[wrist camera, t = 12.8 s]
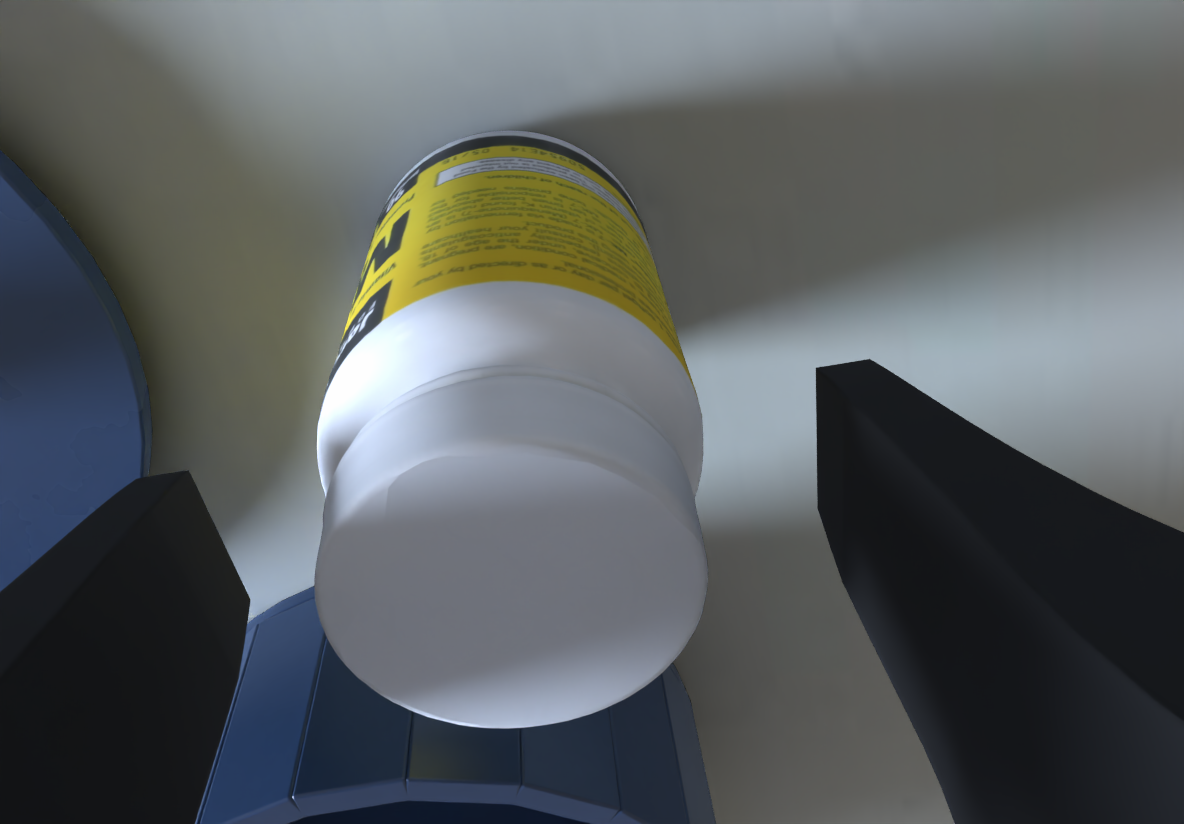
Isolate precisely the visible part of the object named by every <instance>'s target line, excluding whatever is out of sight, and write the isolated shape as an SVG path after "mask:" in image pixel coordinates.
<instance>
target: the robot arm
mask: <svg viewBox="0 0 1184 824" xmlns="http://www.w3.org/2000/svg"><path fill="white" fill-rule="evenodd" d="M816 414H817V494H818V511H819V514H820V517H821V520H822V523H823V526H824V529H825V532H826V535H827V538H828V541H829V545H830V548H831V551H832V553H833V556H834V559H835V562H836V565H837V568H838V571H839V573H840V576H841V579H842V582H843V584H844V586H845V588H846V590H847V592H848V595H849V597H850V599H851V601H852V603H853V605H854V607H855V609H856V611H857V613H858V615H859V617H860V619H861V621H862V623H863V625H864V628H865V630H866V632H867V634H868V636H869V638H870V640H871V642H872V644H873V646H874V648H875V650H876V652H877V654H878V656H879V658H880V660H881V662H882V664H883V666H884V668H885V670H886V672H887V674H888V676H889V678H890V680H891V682H892V684H893V686H894V688H895V690H896V692H897V694H898V696H899V698H900V700H901V702H902V704H903V706H904V708H905V710H906V712H907V714H908V717H909V719H910V721H911V723H912V725H913V727H914V729H915V731H916V733H917V735H918V737H919V739H920V741H921V743H922V745H923V747H924V749H925V751H926V754H927V756H928V758H929V760H930V763H931V765H932V767H933V769H934V772H935V774H936V776H937V778H938V781H939V783H940V785H941V788H942V790H943V793H944V796H945V798H946V801H947V804H948V806H949V809H950V812H951V815H952V817H953V820H954V823H955V824H1184V532H1181V531H1179V530H1177V529H1174V528H1172V527H1170V526H1168V525H1165V524H1163V523H1161V522H1158V521H1156V520H1154V519H1152V518H1149V517H1147V516H1145V515H1142V514H1140V513H1138V512H1136V511H1133V510H1131V509H1129V508H1127V507H1125V506H1122V505H1120V504H1118V503H1116V502H1114V501H1112V500H1110V499H1108V498H1106V497H1104V496H1102V495H1100V494H1098V493H1096V492H1094V491H1092V490H1090V489H1088V488H1086V487H1084V486H1082V485H1080V484H1078V483H1076V482H1075V481H1073V480H1071V479H1069V478H1067V477H1065V476H1063V475H1061V474H1059V473H1057V472H1056V471H1054V470H1052V469H1050V468H1048V467H1046V466H1044V465H1042V464H1040V463H1039V462H1037V461H1035V460H1033V459H1032V458H1030V457H1028V456H1026V455H1024V454H1023V453H1021V452H1019V451H1017V450H1016V449H1014V448H1012V447H1010V446H1009V445H1007V444H1005V443H1004V442H1002V441H1000V440H999V439H997V438H995V437H993V436H992V435H990V434H988V433H987V432H985V431H984V430H982V429H980V428H979V427H977V426H975V425H974V424H972V423H970V422H969V421H967V420H966V419H964V418H962V417H961V416H959V415H958V414H956V413H954V412H953V411H951V410H950V409H948V408H946V407H945V406H943V405H942V404H940V403H939V402H937V401H936V400H934V399H932V398H931V397H929V396H928V395H926V394H925V393H923V392H921V391H920V390H918V389H917V388H915V387H914V386H912V385H911V384H909V383H908V382H906V381H904V380H903V379H901V378H900V377H898V376H897V375H895V374H893V373H892V372H890V371H889V370H887V369H885V368H884V367H882V366H881V365H879V364H877V363H875V362H874V361H872V360H870V359H868V360H862V361H855V362H849V363H843V364H837V365H831V366H825V367H819V368H816ZM249 606H250V598H249V596H248V594H247V592H246V590H245V587H244V585H243V583H242V581H241V579H240V577H239V575H238V573H237V571H236V568H235V566H234V564H233V562H232V560H231V558H230V556H229V554H228V552H227V550H226V547H225V545H224V543H223V541H222V539H221V537H220V535H219V533H218V531H217V529H216V526H215V524H214V522H213V520H212V518H211V516H210V514H209V512H208V510H207V508H206V505H205V503H204V501H203V499H202V497H201V495H200V493H199V491H198V489H197V487H196V484H195V482H194V480H193V478H192V476H191V474H190V472H189V470H187V471H181V472H175V473H168V474H162V475H156V476H150V477H144V478H138V479H135V480H134V481H133V482H131V483H130V484H128V485H127V486H125V487H124V488H123V489H121V490H120V491H119V492H117V493H116V494H115V495H113V496H112V497H111V498H110V499H108V500H107V501H106V502H105V503H103V504H102V505H101V506H100V507H99V508H97V509H96V510H95V511H94V512H93V513H91V514H90V515H89V516H88V517H87V518H85V519H84V520H83V521H82V522H81V523H80V524H78V525H77V526H76V527H75V528H74V529H73V530H71V531H70V532H69V533H68V534H67V535H66V536H64V537H63V538H62V539H61V540H60V541H59V542H58V543H56V544H55V545H54V546H53V547H52V548H51V549H49V550H48V551H47V552H46V553H45V554H44V555H43V556H41V557H40V558H39V559H38V560H37V561H36V562H34V563H33V564H32V565H31V566H30V567H29V568H27V569H26V570H25V571H24V572H23V573H22V574H20V575H19V576H18V577H17V578H16V579H15V580H14V581H12V582H11V583H10V584H9V585H8V586H7V587H5V588H4V589H3V590H2V591H1V592H0V824H195V821H196V818H197V815H198V812H199V808H200V805H201V802H202V799H203V795H204V792H205V789H206V786H207V783H208V779H209V776H210V773H211V770H212V766H213V763H214V760H215V757H216V753H217V750H218V747H219V744H220V740H221V737H222V734H223V730H224V727H225V724H226V720H227V717H228V714H229V710H230V707H231V703H232V700H233V697H234V693H235V690H236V686H237V682H238V679H239V673H240V667H241V661H242V656H243V650H244V644H245V637H246V629H247V621H248V614H249Z"/></svg>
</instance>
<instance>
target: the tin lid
mask: <svg viewBox="0 0 1184 824" xmlns="http://www.w3.org/2000/svg"><path fill="white" fill-rule="evenodd" d="M152 431H153V430H152V420H151V410H150V400H149V390H148V386H147V383H146V379H145V375H144V371H143V367H142V363H141V360H140V356H139V352H138V348H137V345H136V343H135V340H134V338H133V336H132V333H131V331H130V328H129V326H128V324H127V321H126V319H125V316H124V314H123V312H122V309H121V307H120V304H119V302H118V300H117V299H116V297H115V295H114V293H113V292H112V290H111V288H110V286H109V285H108V283H107V281H106V279H105V278H104V276H103V274H102V273H101V271H100V269H99V267H98V266H97V264H96V262H95V260H94V259H93V257H92V255H91V254H90V253H89V251H88V250H87V249H86V247H85V246H84V245H83V243H82V242H81V241H80V239H79V238H78V236H77V235H76V234H75V232H74V231H73V230H72V228H71V227H70V226H69V224H68V223H67V222H66V220H65V219H64V218H63V216H62V215H61V213H60V212H59V211H58V210H57V208H56V207H55V206H54V205H53V204H52V203H51V202H50V201H49V200H48V199H47V198H46V196H45V195H44V194H43V193H42V192H41V191H40V190H39V189H38V188H37V187H36V186H35V184H34V183H33V182H32V181H31V180H30V179H29V178H28V177H27V176H26V175H25V174H24V172H23V171H22V170H21V169H20V168H19V167H18V166H17V165H16V164H15V163H14V162H13V161H12V160H11V159H10V158H9V157H7V156H6V155H5V154H4V153H3V152H2V151H1V150H0V592H1V591H2V590H3V589H4V588H5V587H7V586H8V585H9V584H10V583H11V582H12V581H14V580H15V579H16V578H17V577H18V576H19V575H20V574H22V573H23V572H24V571H25V570H26V569H27V568H29V567H30V566H31V565H32V564H33V563H34V562H36V561H37V560H38V559H39V558H40V557H41V556H43V555H44V554H45V553H46V552H47V551H48V550H49V549H51V548H52V547H53V546H54V545H55V544H56V543H58V542H59V541H60V540H61V539H62V538H63V537H64V536H66V535H67V534H68V533H69V532H70V531H71V530H73V529H74V528H75V527H76V526H77V525H78V524H80V523H81V522H82V521H83V520H84V519H85V518H87V517H88V516H89V515H90V514H91V513H93V512H94V511H95V510H96V509H97V508H99V507H100V506H101V505H102V504H103V503H105V502H106V501H107V500H108V499H110V498H111V497H112V496H113V495H115V494H116V493H117V492H119V491H120V490H121V489H123V488H124V487H125V486H127V485H128V484H130V483H131V482H133V481H134V480H135V479H138V478H144V477H148V473H149V469H150V460H151V446H152Z"/></svg>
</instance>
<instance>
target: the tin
mask: <svg viewBox="0 0 1184 824" xmlns="http://www.w3.org/2000/svg"><path fill="white" fill-rule="evenodd" d="M195 824H716V820H715V816H714V811H713V806H712V801H711V797H710V792H709V787H708V782H707V778H706V773H705V768H704V763H703V758H702V754H701V749H700V744H699V739H698V735H697V730H696V725H695V720H694V716H693V711H692V706H691V701H690V699H689V696H688V694H687V693H686V689H685V687H684V685H683V682H682V680H681V678H680V676H679V673H678V671H677V669H676V667H675V666H674V664H673V663H671V664H670V665H669V666H668V667H667V669H666V670H665V671H663V672H662V673H661V674H660V675H659V676H658V677H657V678H655V679H654V680H653V681H652V682H650V683H649V684H648V685H646V686H645V687H643V688H642V689H640V690H639V691H637V692H636V693H634V694H633V695H631V696H629V697H628V698H626V699H624V700H622V701H620V702H618V703H616V704H613V705H611V706H609V707H607V708H605V709H602V710H600V711H597V712H595V713H592V714H589V715H586V716H582V717H579V718H576V719H572V720H569V721H564V722H559V723H554V724H547V725H541V726H533V727H524V728H482V727H472V726H464V725H458V724H454V723H449V722H445V721H442V720H438V719H434V718H430V717H426V716H424V715H421V714H419V713H416V712H413V711H411V710H409V709H407V708H404V707H402V706H400V705H398V704H396V703H393V702H392V701H390V700H388V699H387V698H385V697H383V696H382V695H380V694H379V693H377V692H376V691H374V690H373V689H372V688H370V687H369V686H368V685H367V684H366V683H364V682H363V681H361V680H360V679H359V678H357V677H356V675H355V674H354V673H353V672H352V671H351V670H350V669H349V668H348V667H347V666H346V665H345V664H344V663H343V661H342V660H341V659H340V658H339V657H338V655H337V654H336V652H335V651H334V649H333V647H332V646H331V644H330V642H329V641H328V639H327V636H326V634H325V632H324V629H323V627H322V625H321V622H320V619H319V615H318V611H317V606H316V602H315V586H313V587H311V588H309V589H307V590H304V591H302V592H300V593H298V594H296V595H293V596H291V597H289V598H287V599H285V600H283V601H281V602H279V603H278V604H276V605H275V606H273V607H271V608H270V609H268V610H266V611H265V612H263V613H262V614H260V615H258V616H257V617H255V618H254V619H253V620H252V621H250V622H249V623H248V624H247V629H246V637H245V644H244V650H243V656H242V661H241V667H240V673H239V679H238V682H237V686H236V690H235V693H234V697H233V700H232V703H231V707H230V710H229V714H228V717H227V720H226V724H225V727H224V730H223V734H222V737H221V740H220V744H219V747H218V750H217V753H216V757H215V760H214V763H213V766H212V770H211V773H210V776H209V779H208V783H207V786H206V789H205V792H204V795H203V799H202V802H201V805H200V808H199V812H198V815H197V818H196V821H195Z"/></svg>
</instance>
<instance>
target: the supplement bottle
mask: <svg viewBox="0 0 1184 824" xmlns="http://www.w3.org/2000/svg"><path fill="white" fill-rule="evenodd" d="M317 458H318V467H319V472H320V477H321V483H322V487H323V490H324V493H325V496H326V500H325V506H324V512H323V530H322V536H321V541H320V547H319V552H318V557H317V562H316V570H315V602H316V606H317V611H318V615H319V619H320V622H321V625H322V627H323V629H324V632H325V634H326V636H327V639H328V641H329V642H330V644H331V646H332V647H333V649H334V651H335V652H336V654H337V655H338V657H339V658H340V659H341V660H342V661H343V663H344V664H345V665H346V666H347V667H348V668H349V669H350V670H351V671H352V672H353V673H354V674H355V675H356V677H357V678H359V679H360V680H361V681H363V682H364V683H366V684H367V685H368V686H369V687H370V688H372V689H373V690H374V691H376V692H377V693H379V694H380V695H382V696H383V697H385V698H387V699H388V700H390V701H392V702H393V703H396V704H398V705H400V706H402V707H404V708H407V709H409V710H411V711H413V712H416V713H419V714H421V715H424V716H426V717H430V718H434V719H438V720H442V721H445V722H449V723H454V724H458V725H464V726H472V727H482V728H524V727H533V726H541V725H547V724H554V723H559V722H564V721H569V720H572V719H576V718H579V717H582V716H586V715H589V714H592V713H595V712H597V711H600V710H602V709H605V708H607V707H609V706H611V705H613V704H616V703H618V702H620V701H622V700H624V699H626V698H628V697H629V696H631V695H633V694H634V693H636V692H637V691H639V690H640V689H642V688H643V687H645V686H646V685H648V684H649V683H650V682H652V681H653V680H654V679H655V678H657V677H658V676H659V675H660V674H661V673H662V672H663V671H665V670H666V669H667V667H668V666H669V665H670V664H671V663H672V662H673V661H674V660H675V659H676V657H677V656H678V655H679V654H680V653H681V652H682V650H683V649H684V647H685V646H686V644H687V643H688V641H689V639H690V638H691V636H692V634H693V633H694V631H695V629H696V627H697V625H698V623H699V620H700V618H701V615H702V612H703V607H704V602H705V598H706V593H707V585H708V564H707V557H706V552H705V547H704V542H703V537H702V532H701V528H700V523H699V519H698V515H697V511H696V506H695V496H696V493H697V490H698V486H699V481H700V477H701V471H702V462H703V425H702V414H701V410H700V406H699V402H698V398H697V394H696V391H695V388H694V385H693V382H692V379H691V376H690V373H689V370H688V367H687V364H686V361H685V358H684V355H683V352H682V349H681V346H680V343H679V340H678V337H677V334H676V330H675V327H674V324H673V321H672V318H671V315H670V312H669V309H668V305H667V302H666V299H665V296H664V292H663V289H662V286H661V282H660V279H659V276H658V273H657V270H656V266H655V262H654V259H653V256H652V252H651V249H650V246H649V242H648V239H647V236H646V232H645V229H644V226H643V223H642V221H641V219H640V216H639V214H638V212H637V209H636V207H635V205H634V203H633V201H632V199H631V198H630V196H629V194H628V193H627V191H626V190H625V188H624V187H623V185H622V184H621V183H620V182H619V181H618V179H617V178H616V177H615V176H614V175H613V174H612V173H611V172H610V171H609V170H608V169H607V168H606V167H605V166H604V165H603V164H601V163H600V162H599V161H598V160H597V159H595V158H594V157H592V156H591V155H589V154H588V153H586V152H585V151H583V150H582V149H580V148H578V147H576V146H574V145H572V144H570V143H567V142H565V141H562V140H560V139H557V138H554V137H551V136H547V135H543V134H539V133H533V132H526V131H493V132H486V133H480V134H475V135H471V136H468V137H464V138H461V139H458V140H456V141H453V142H451V143H449V144H447V145H445V146H443V147H441V148H439V149H437V150H435V151H434V152H432V153H431V154H429V155H428V156H426V157H425V158H423V159H422V160H421V161H420V162H418V163H417V164H416V165H415V166H414V167H413V168H412V169H411V170H410V171H409V172H408V173H407V174H406V175H405V176H404V177H403V178H402V179H401V181H400V182H399V183H398V184H397V186H396V187H395V189H394V190H393V192H392V193H391V195H390V196H389V198H388V200H387V202H386V204H385V206H384V208H383V210H382V212H381V215H380V217H379V219H378V222H377V224H376V228H375V231H374V234H373V237H372V240H371V244H370V247H369V252H368V255H367V259H366V262H365V265H364V268H363V271H362V275H361V279H360V282H359V285H358V288H357V291H356V294H355V297H354V301H353V304H352V308H351V311H350V314H349V318H348V321H347V324H346V327H345V331H344V334H343V338H342V341H341V344H340V348H339V351H338V355H337V358H336V361H335V364H334V367H333V369H332V372H331V375H330V378H329V382H328V385H327V387H326V391H325V396H324V399H323V402H322V407H321V412H320V416H319V422H318V436H317Z"/></svg>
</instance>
